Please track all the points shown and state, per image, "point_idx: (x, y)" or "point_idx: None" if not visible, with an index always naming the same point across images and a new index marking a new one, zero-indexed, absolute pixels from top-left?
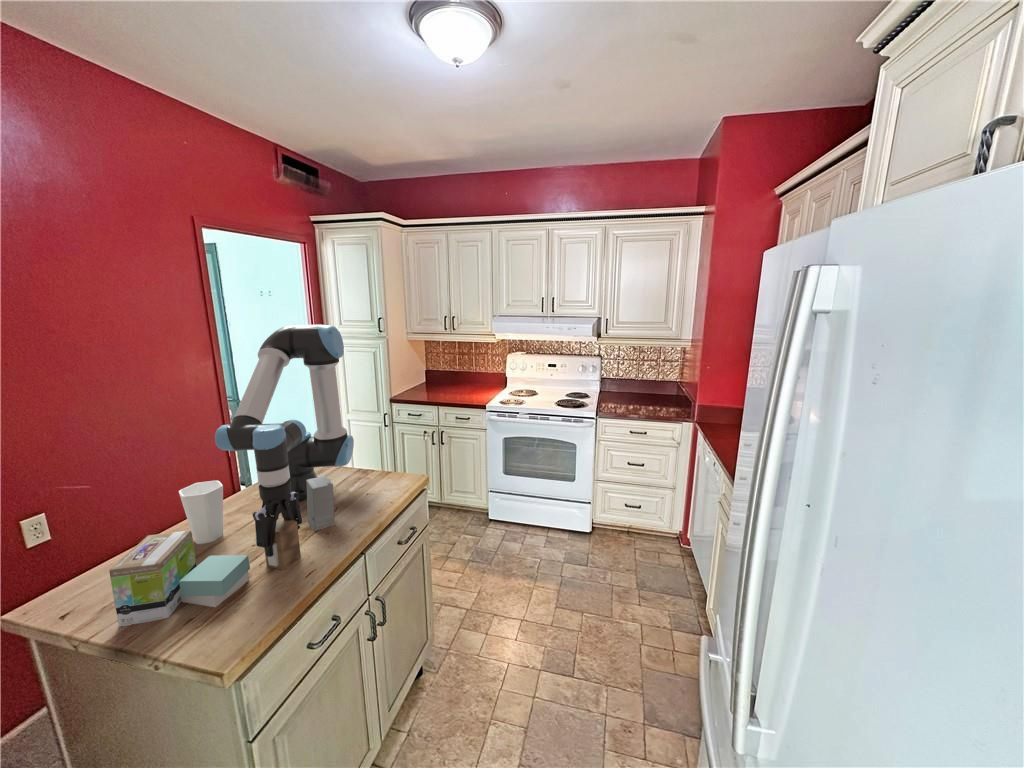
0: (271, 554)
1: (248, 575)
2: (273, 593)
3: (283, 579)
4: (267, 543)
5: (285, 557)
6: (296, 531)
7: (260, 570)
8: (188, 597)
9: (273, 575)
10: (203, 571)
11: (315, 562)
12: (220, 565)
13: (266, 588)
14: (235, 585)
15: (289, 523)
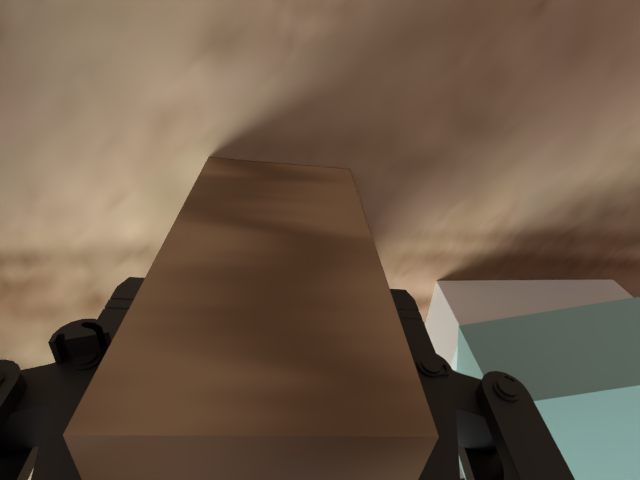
0: (400, 299)
1: (451, 304)
2: (550, 90)
3: (419, 124)
4: (489, 397)
5: (339, 209)
6: (156, 305)
7: None
8: None
9: (385, 207)
10: (632, 475)
11: (210, 13)
12: (589, 452)
13: (498, 165)
14: (530, 304)
15: (176, 469)
